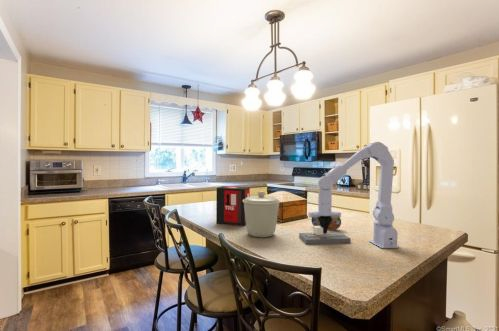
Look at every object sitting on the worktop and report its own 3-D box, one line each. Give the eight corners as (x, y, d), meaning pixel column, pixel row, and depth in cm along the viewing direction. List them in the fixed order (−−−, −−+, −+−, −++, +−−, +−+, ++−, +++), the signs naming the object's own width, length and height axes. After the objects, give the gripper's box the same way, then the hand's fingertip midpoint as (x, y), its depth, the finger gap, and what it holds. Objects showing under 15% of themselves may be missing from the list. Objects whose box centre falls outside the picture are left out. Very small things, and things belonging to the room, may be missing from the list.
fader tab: (323, 236, 118) (323, 228, 118) (316, 236, 118) (316, 228, 118) (319, 234, 122) (319, 225, 122) (313, 234, 122) (313, 225, 122)
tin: (311, 227, 142) (311, 211, 142) (312, 226, 145) (312, 210, 145) (340, 231, 135) (340, 214, 135) (341, 229, 138) (341, 213, 138)
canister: (277, 241, 117) (278, 194, 117) (238, 238, 121) (238, 192, 120) (281, 230, 135) (281, 189, 135) (246, 228, 139) (246, 188, 138)
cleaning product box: (249, 222, 152) (249, 187, 152) (244, 226, 144) (244, 189, 143) (222, 220, 157) (222, 186, 157) (216, 223, 149) (216, 187, 148)
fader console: (350, 242, 117) (350, 237, 117) (306, 244, 114) (306, 238, 114) (340, 236, 127) (340, 230, 126) (299, 237, 124) (299, 231, 124)
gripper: (336, 201, 125) (335, 230, 125) (306, 201, 123) (305, 230, 123) (343, 203, 118) (342, 234, 118) (311, 204, 116) (311, 235, 116)
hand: (324, 232), depth 120 cm, fingers closed
